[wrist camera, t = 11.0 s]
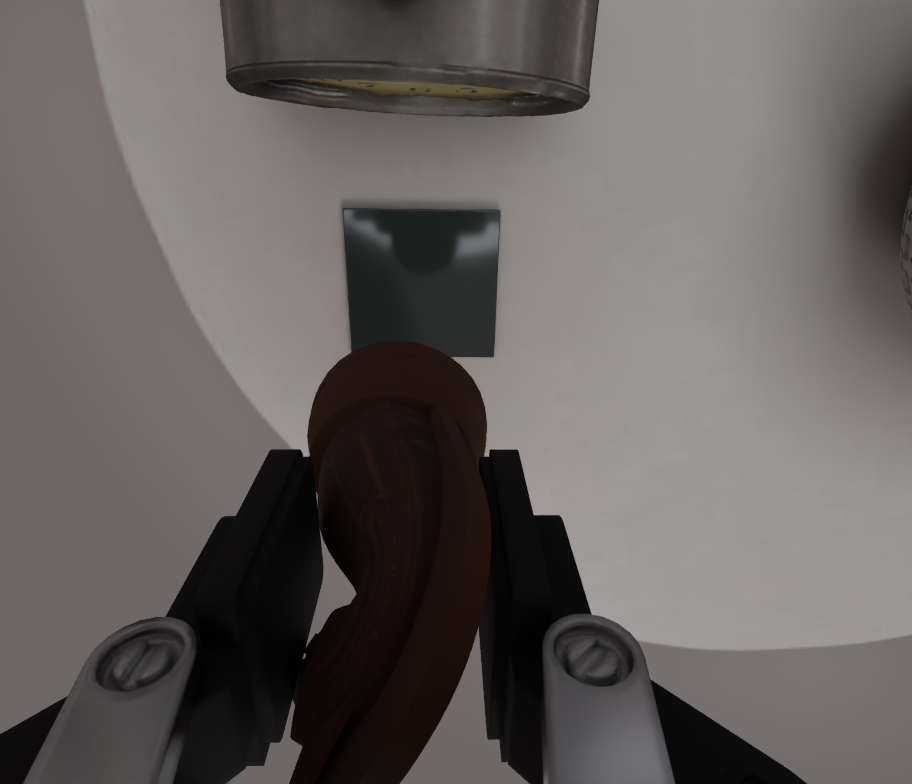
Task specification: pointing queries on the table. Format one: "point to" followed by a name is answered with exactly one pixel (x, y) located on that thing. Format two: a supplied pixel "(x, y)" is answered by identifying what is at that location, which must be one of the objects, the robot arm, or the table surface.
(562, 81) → the alarm clock
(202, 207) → the table surface
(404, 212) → the slate coaster
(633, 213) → the table surface
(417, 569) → the chess piece
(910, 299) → the planter
